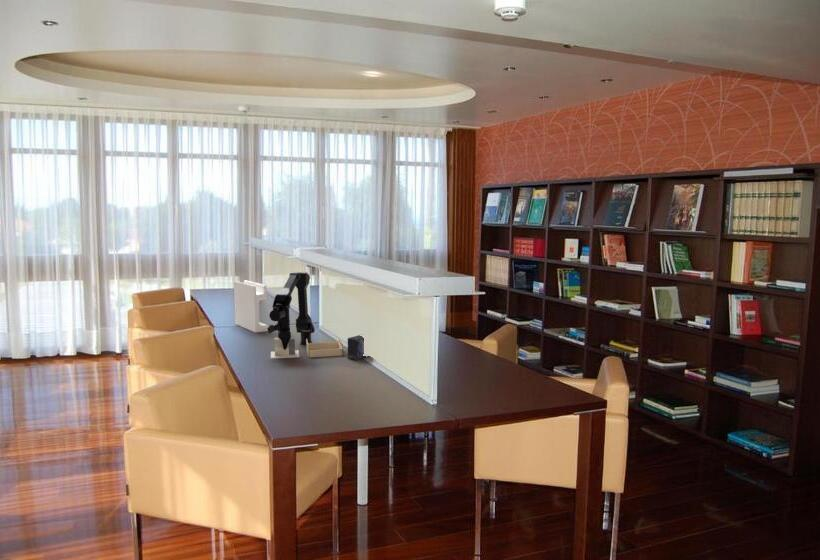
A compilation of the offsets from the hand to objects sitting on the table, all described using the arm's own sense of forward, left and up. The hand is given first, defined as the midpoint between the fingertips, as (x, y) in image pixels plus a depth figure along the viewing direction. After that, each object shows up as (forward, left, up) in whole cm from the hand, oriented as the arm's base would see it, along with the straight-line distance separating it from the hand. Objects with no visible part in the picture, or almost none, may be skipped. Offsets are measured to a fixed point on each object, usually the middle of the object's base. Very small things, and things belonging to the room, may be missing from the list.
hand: (284, 348), depth 323 cm
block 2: (0, 0, -3) cm, 3 cm away
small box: (+15, +36, -4) cm, 39 cm away
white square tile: (0, 0, -4) cm, 4 cm away
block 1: (-81, -19, -4) cm, 83 cm away
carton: (0, +20, -4) cm, 20 cm away
